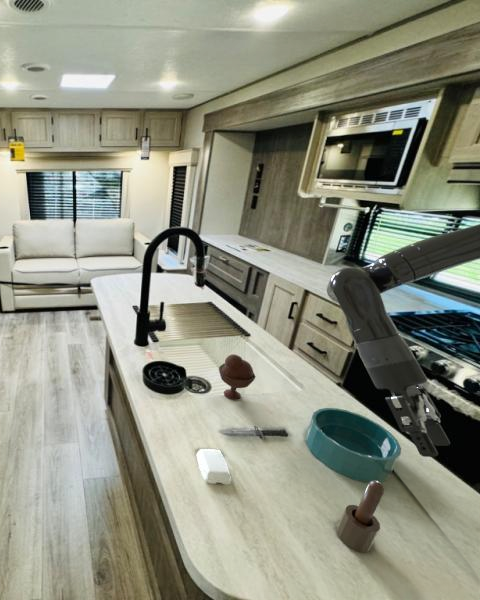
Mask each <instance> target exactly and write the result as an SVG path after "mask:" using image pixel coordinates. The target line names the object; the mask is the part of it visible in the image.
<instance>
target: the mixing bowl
mask: <svg viewBox="0 0 480 600" xmlns="http://www.w3.org/2000/svg"><path fill="white" fill-rule="evenodd" d="M305 444H306V446H307V447H308V450H309V451H310V452H311V453H312V454H313V456H314V457H315V458H316V459H317V460H318V461H320V462H321V463H322V464H324V466H326V467H327V468H330V470H333V471H335V472H336V473H338V474H340V475H341V476H344V477H347V478H349V479H352V480H355V481H359V482H364V483H369V482H370V481H373V480H374V481H378V482H380V483H382V482H385V481H387V480H388V479H389V478H390V477H391V475H392V473H393V471H394V469H395V467H396V465H397V463H398V460H399V458H400V456H401V454H402V446H401V444H400V442H399V440H398V439H397V438H396V437H395V435H393V434H392V433H391V432H390V431H388V429H386V428H385V427H383V425H381V424H379V423H377V422H376V421H374V420H373V419H370V418H368V417H366V416H364V415H362V414H359V413H356V412H353V411H350V410H347V409H342V408H336V407H324V408H319V409H317V410H316V411H314V412H313V413H312V416H311V418H310V422H309V425H308V428H307V431H306V433H305Z"/></svg>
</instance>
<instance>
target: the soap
mask: <svg viewBox="0 0 480 600" xmlns="http://www.w3.org/2000/svg"><path fill="white" fill-rule="evenodd" d="M196 460H197V465H198V467H199V470H200V473H201V476H202V478H203V480H204V482H205V483H206V484H209V485H214V484H215V485H216V484H217V483H219V484H220V483H221V485H225V486H226V485H231V484H232V481H233V480H232V477H231V473H230V469H229V467H228V464H227V462H226V460H225V457H224V455H223V454H222V451H221V450H220V449H212V448H201V449H199V450H198V451H197V452H196Z"/></svg>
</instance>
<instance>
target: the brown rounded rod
mask: <svg viewBox="0 0 480 600" xmlns="http://www.w3.org/2000/svg"><path fill="white" fill-rule="evenodd" d="M385 492H386V489H385V486H384V485H383V483H382V482H378V481H374V480H373V481H370V482H368V484H367V486H366V489H365V491H364V493H363V495H362V498H361V499H360V502H359V504H358V505H357V506H358V508H357V511H356V513H355V515H354V518H355V519H356V520H357V521H358V522H359V523H361V524H362V525H365V526H368V525H369V522H370V520H371V518H372V516H374V514H375V512H376V510H377V507H378V505H379V503H380V502H381V500H382V498H383V495H384V494H385Z"/></svg>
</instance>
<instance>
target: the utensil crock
mask: <svg viewBox="0 0 480 600" xmlns="http://www.w3.org/2000/svg"><path fill="white" fill-rule="evenodd" d="M358 506H359V505H356V504H348V505H347V506H345V508H344V510H343V513H342V515H341V517H340V520H339V522H338V524H337V526H336V534H337V537H338V539H339V540H340V542H342V543H343V544H344V546H346V547H348V548H349V549H350V550H352V551H354V552H356V553H360V554H366V553H368V552H369V551H370V550H371V548H372V546H373V544H374V542H375V540H376V538H377V536H378V534H379V532H380V530H381V523H380V522H379V520H378V518H377V517H376V516H375V515H373V516H372V518H371V520H370V522H369V525H368V526H365V525H362V524H361V523H359V522H358V521H357V520H356V519H355V518H354V515H355V513H356V511H357V508H358Z"/></svg>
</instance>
